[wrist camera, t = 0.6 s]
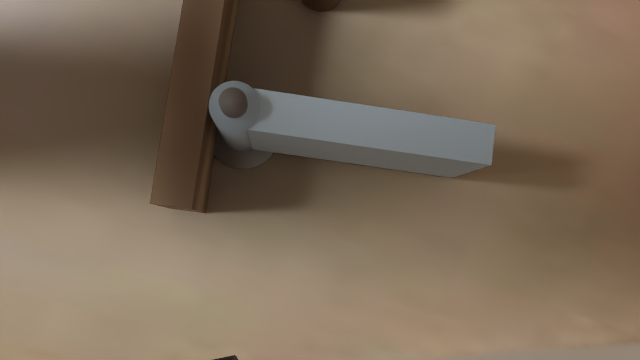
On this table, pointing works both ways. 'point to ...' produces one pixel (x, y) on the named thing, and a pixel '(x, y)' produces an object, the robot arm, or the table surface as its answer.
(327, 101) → the grey pivot lever
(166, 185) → the frame rail
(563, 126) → the table surface
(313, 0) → the stop post
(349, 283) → the table surface
